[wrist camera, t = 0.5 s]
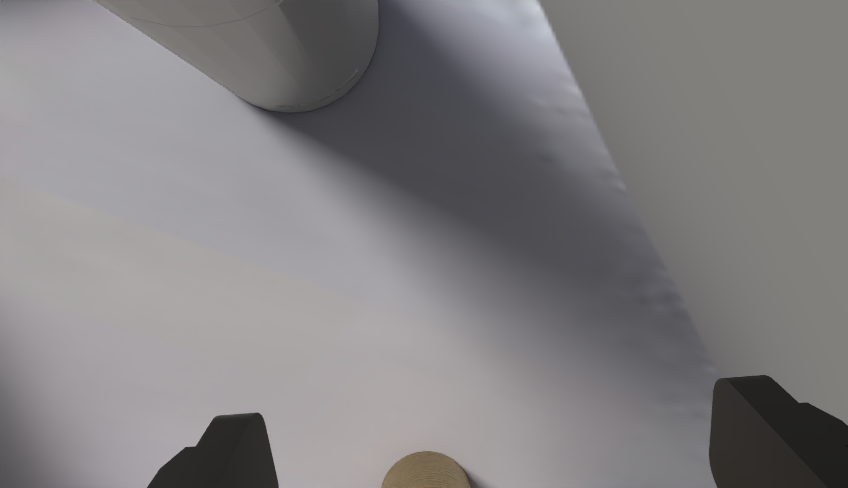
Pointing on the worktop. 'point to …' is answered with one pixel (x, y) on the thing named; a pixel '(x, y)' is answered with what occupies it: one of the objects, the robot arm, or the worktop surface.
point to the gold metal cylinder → (426, 472)
